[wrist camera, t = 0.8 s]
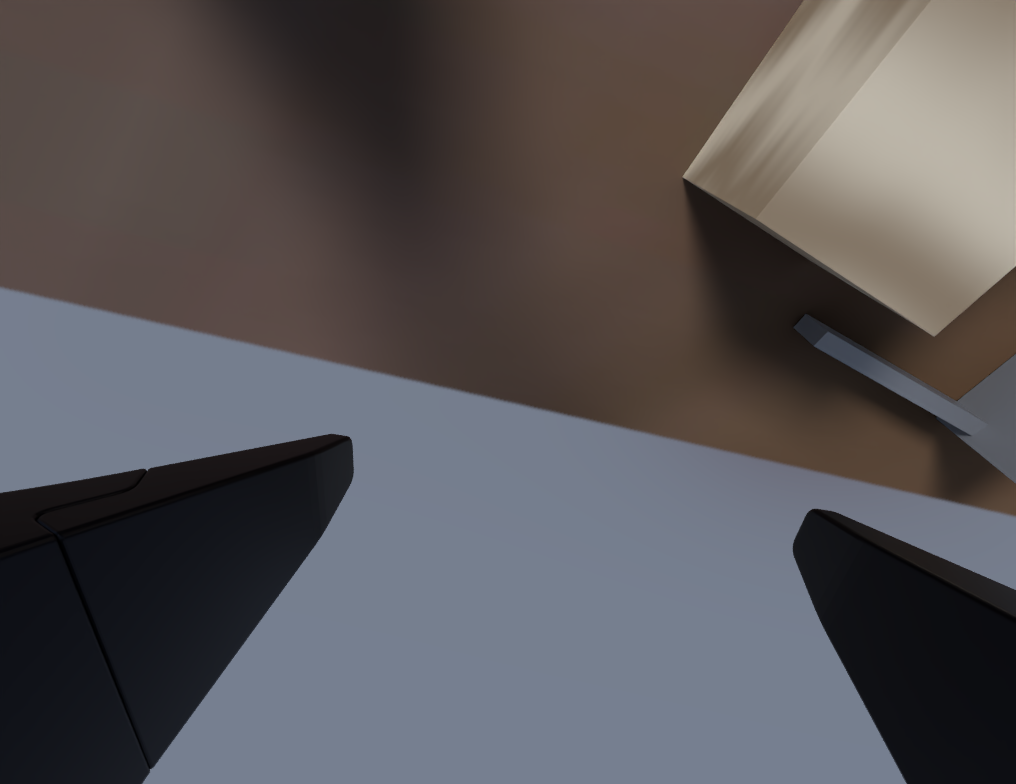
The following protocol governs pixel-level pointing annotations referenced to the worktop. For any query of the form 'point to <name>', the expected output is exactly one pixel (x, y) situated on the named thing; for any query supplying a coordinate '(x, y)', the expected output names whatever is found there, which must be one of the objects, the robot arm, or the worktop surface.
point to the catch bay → (938, 395)
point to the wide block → (882, 149)
